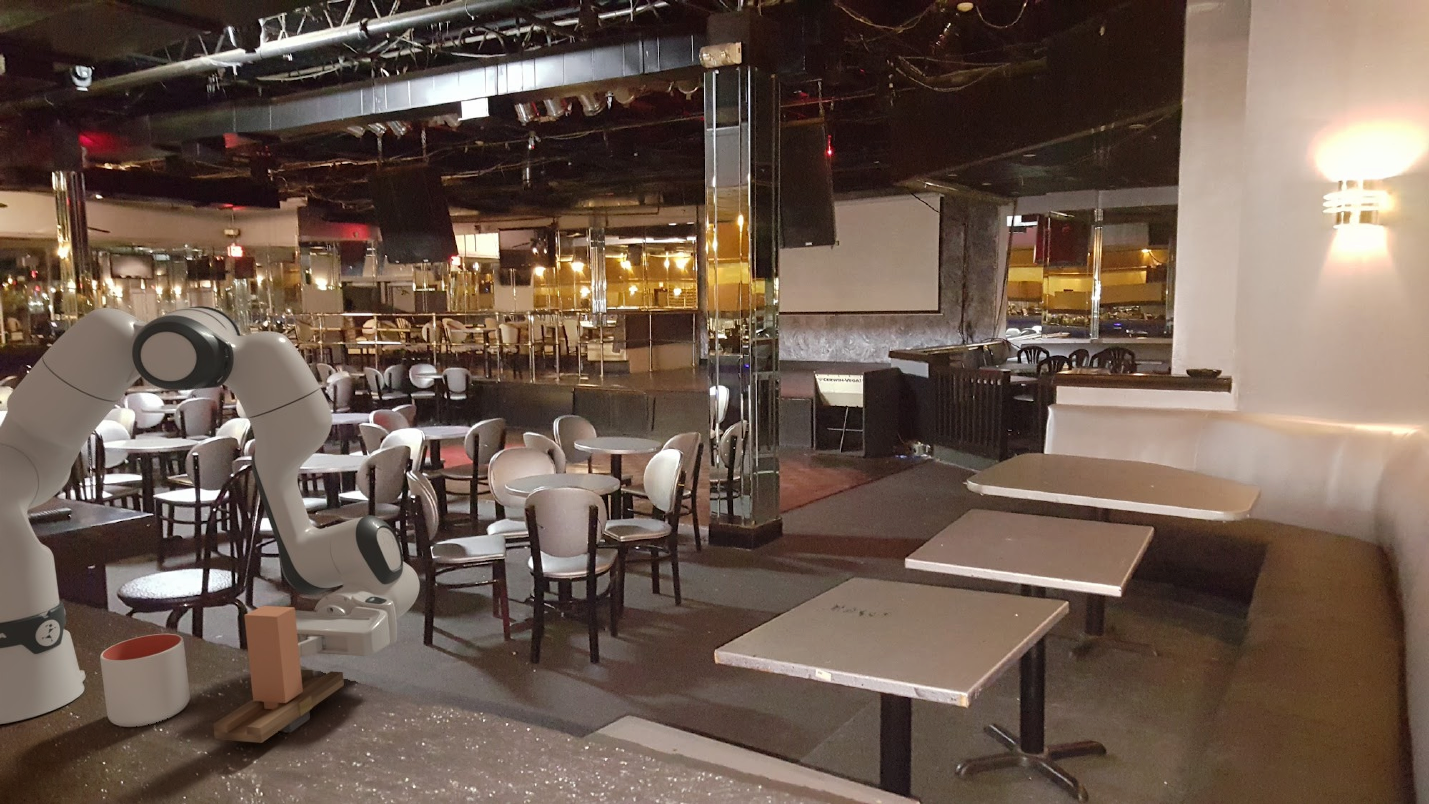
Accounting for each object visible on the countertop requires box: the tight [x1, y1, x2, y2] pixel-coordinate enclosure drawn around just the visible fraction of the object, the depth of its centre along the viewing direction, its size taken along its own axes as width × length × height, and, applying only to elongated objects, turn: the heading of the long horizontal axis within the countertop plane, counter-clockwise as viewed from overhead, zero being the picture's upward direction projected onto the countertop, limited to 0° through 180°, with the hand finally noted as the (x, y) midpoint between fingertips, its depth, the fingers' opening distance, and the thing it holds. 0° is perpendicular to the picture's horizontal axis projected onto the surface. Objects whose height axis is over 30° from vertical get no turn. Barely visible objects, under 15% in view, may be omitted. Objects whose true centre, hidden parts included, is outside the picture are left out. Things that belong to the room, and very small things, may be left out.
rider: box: [244, 605, 303, 709], centre depth 123 cm, size 5×4×13 cm
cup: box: [99, 633, 191, 728], centre depth 129 cm, size 10×10×10 cm
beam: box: [212, 669, 345, 744], centre depth 124 cm, size 7×17×4 cm, turn 167°
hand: (283, 654), depth 124 cm, fingers closed, pressing on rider
